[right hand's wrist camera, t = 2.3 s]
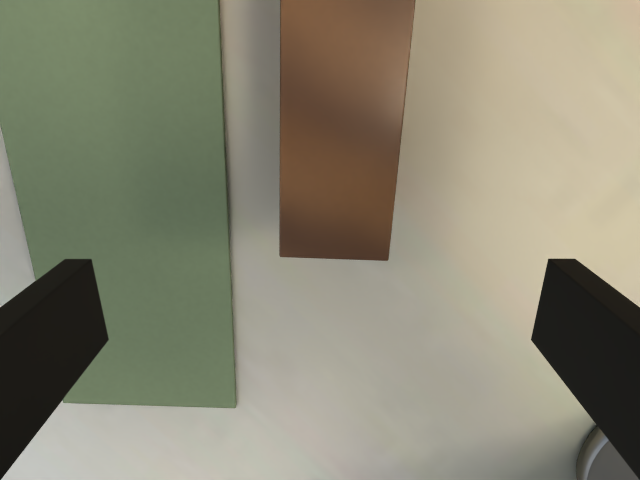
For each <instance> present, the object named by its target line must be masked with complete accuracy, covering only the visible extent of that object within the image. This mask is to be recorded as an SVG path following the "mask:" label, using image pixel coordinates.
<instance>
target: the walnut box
mask: <svg viewBox="0 0 640 480" xmlns="http://www.w3.org/2000/svg"><path fill="white" fill-rule="evenodd" d="M414 9H415V0H280V257H297V258H325V259H354V260H382V261H387V260H388V258H389V249H390V239H391V230H392V220H393V210H394V201H395V191H396V182H397V172H398V162H399V153H400V143H401V134H402V124H403V114H404V105H405V95H406V86H407V76H408V66H409V57H410V47H411V37H412V28H413V18H414Z"/></svg>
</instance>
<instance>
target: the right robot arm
mask: <svg viewBox="0 0 640 480" xmlns="http://www.w3.org/2000/svg"><path fill="white" fill-rule="evenodd" d="M108 340H109V338H108V333H107V329H106V324H105V319H104V315H103V310H102V305H101V300H100V296H99V291H98V286H97V282H96V277H95V272H94V268H93V263H92V259H64V260H63V261H61V262H60V263H59V264H57V265H56V266H55V267H53V268H52V269H51V270H49V271H48V272H47V273H46V274H44V275H43V276H42V277H40V278H39V279H38V280H36V281H35V282H34V283H32V284H31V285H30V286H28V287H27V288H26V289H24V290H23V291H22V292H20V293H19V294H18V295H16V296H15V297H14V298H12V299H11V300H10V301H8V302H7V303H6V304H4V305H3V306H2V307H0V480H1V479H2V477H3V476H4V475H5V474H6V472H7V471H8V470H9V468H10V467H11V466H12V464H13V463H14V462H15V461H16V459H17V458H18V457H19V455H20V454H21V453H22V452H23V450H24V449H25V448H26V446H27V445H28V444H29V442H30V441H31V440H32V439H33V437H34V436H35V435H36V433H37V432H38V431H39V430H40V428H41V427H42V426H43V424H44V423H45V422H46V421H47V419H48V418H49V417H50V415H51V414H52V413H53V411H54V410H55V409H56V408H57V406H58V405H59V404H60V402H61V401H62V400H63V399H64V397H65V396H66V395H67V393H68V392H69V391H70V389H71V388H72V387H73V386H74V384H75V383H76V382H77V380H78V379H79V378H80V377H81V375H82V374H83V373H84V371H85V370H86V369H87V367H88V366H89V365H90V364H91V362H92V361H93V360H94V358H95V357H96V356H97V355H98V353H99V352H100V351H101V349H102V348H103V347H104V345H105V344H106V343H107V342H108ZM531 340H532V342H533V343H534V344H535V345H536V347H537V348H538V349H539V351H540V352H541V353H542V355H543V356H544V357H545V358H546V360H547V361H548V362H549V364H550V365H551V366H552V367H553V369H554V370H555V371H556V373H557V374H558V375H559V377H560V378H561V379H562V380H563V382H564V383H565V384H566V386H567V387H568V388H569V389H570V391H571V392H572V393H573V395H574V396H575V397H576V399H577V400H578V401H579V402H580V404H581V405H582V406H583V408H584V409H585V410H586V411H587V413H588V414H589V415H590V417H591V418H592V419H593V421H594V422H595V423H596V424H597V427H596V428H595V429H594V430H593V431H592V432H591V434H590V435H589V436H588V438H587V439H586V441H585V442H584V444H583V446H582V448H581V450H580V453H579V456H578V459H577V465H576V475H577V480H640V307H638V306H637V305H636V304H634V303H633V302H632V301H630V300H629V299H628V298H626V297H625V296H624V295H622V294H621V293H620V292H618V291H617V290H616V289H614V288H613V287H612V286H610V285H609V284H608V283H606V282H605V281H604V280H602V279H601V278H600V277H598V276H597V275H596V274H594V273H593V272H592V271H591V270H589V269H588V268H587V267H585V266H584V265H583V264H581V263H580V262H579V261H577V260H576V259H548V263H547V268H546V272H545V277H544V282H543V286H542V291H541V296H540V300H539V305H538V310H537V314H536V319H535V324H534V329H533V333H532V338H531Z"/></svg>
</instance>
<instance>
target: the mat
mask: <svg viewBox="0 0 640 480" xmlns="http://www.w3.org/2000/svg"><path fill="white" fill-rule="evenodd" d="M0 125H1V129H2V134H3V138H4V142H5V147H6V151H7V156H8V160H9V164H10V169H11V173H12V178H13V182H14V187H15V191H16V195H17V200H18V204H19V209H20V213H21V217H22V222H23V226H24V231H25V235H26V240H27V244H28V248H29V253H30V257H31V262H32V266H33V270H34V275H35V279H36V280H38V279H39V278H40V277H42V276H43V275H44V274H46V273H47V272H48V271H49V270H51V269H52V268H53V267H55V266H56V265H57V264H59V263H60V262H61V261H63V260H64V259H92V263H93V268H94V272H95V277H96V282H97V286H98V291H99V296H100V300H101V305H102V310H103V315H104V319H105V324H106V329H107V333H108V338H109V340H108V342H107V343H106V344H105V345H104V347H103V348H102V349H101V351H100V352H99V353H98V355H97V356H96V357H95V358H94V360H93V361H92V362H91V364H90V365H89V366H88V367H87V369H86V370H85V371H84V373H83V374H82V375H81V377H80V378H79V379H78V380H77V382H76V383H75V384H74V386H73V387H72V388H71V389H70V391H69V392H68V393H67V395H66V396H65V397H64V399H63V403H84V404H116V405H149V406H181V407H213V408H236V384H235V360H234V336H233V313H232V289H231V265H230V242H229V218H228V194H227V170H226V147H225V123H224V99H223V76H222V52H221V28H220V5H219V0H0Z"/></svg>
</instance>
